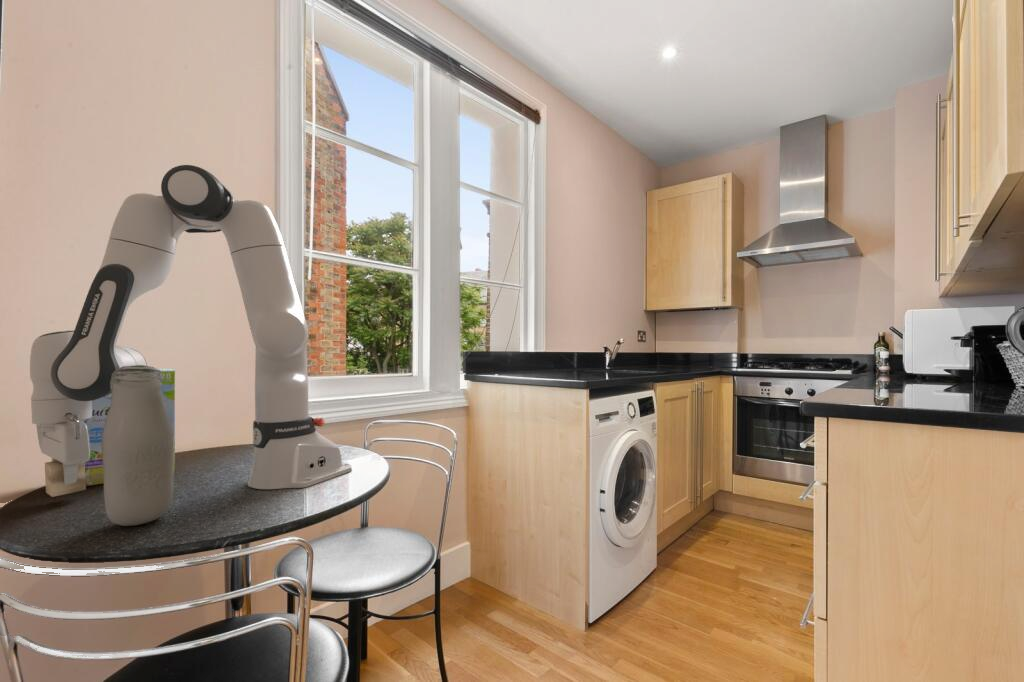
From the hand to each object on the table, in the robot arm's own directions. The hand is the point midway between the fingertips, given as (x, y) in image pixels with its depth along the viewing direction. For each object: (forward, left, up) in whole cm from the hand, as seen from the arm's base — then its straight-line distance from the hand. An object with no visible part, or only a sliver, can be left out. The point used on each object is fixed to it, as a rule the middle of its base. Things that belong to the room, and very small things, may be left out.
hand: (65, 480), depth 96 cm
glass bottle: (-4, +26, -5) cm, 27 cm away
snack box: (-12, -12, -5) cm, 18 cm away
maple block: (0, 0, -2) cm, 2 cm away
